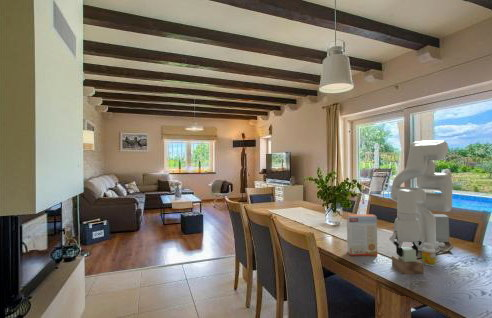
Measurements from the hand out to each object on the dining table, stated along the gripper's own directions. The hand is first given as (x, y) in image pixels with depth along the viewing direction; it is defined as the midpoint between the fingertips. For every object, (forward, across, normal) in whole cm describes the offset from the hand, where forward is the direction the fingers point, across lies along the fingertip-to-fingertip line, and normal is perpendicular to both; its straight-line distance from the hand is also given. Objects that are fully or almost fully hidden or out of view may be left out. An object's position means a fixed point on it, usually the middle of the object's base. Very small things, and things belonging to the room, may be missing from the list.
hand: (407, 255), depth 121 cm
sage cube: (+2, 0, 0) cm, 2 cm away
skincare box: (+7, -44, -40) cm, 60 cm away
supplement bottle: (+7, -14, -6) cm, 17 cm away
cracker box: (+7, +12, -20) cm, 24 cm away
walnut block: (+7, 0, 0) cm, 7 cm away
